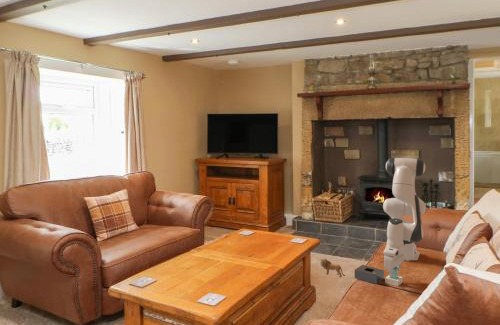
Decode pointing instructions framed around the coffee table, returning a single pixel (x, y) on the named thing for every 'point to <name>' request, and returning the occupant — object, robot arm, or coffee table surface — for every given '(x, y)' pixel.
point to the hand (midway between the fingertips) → (394, 273)
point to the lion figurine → (331, 267)
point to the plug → (395, 273)
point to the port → (369, 274)
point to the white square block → (394, 280)
